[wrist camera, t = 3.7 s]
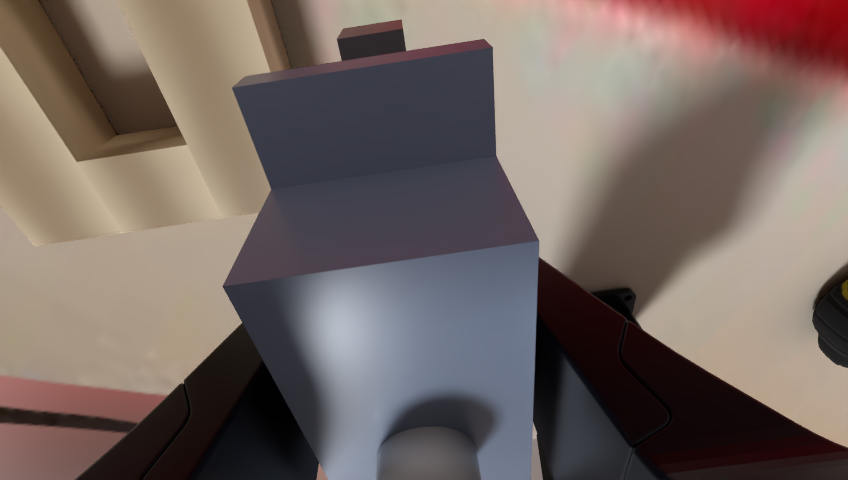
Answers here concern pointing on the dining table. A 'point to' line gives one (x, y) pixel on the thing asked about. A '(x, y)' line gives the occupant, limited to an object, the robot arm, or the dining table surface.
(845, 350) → the tape measure
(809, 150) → the dining table surface
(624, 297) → the robot arm
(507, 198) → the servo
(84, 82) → the frame
